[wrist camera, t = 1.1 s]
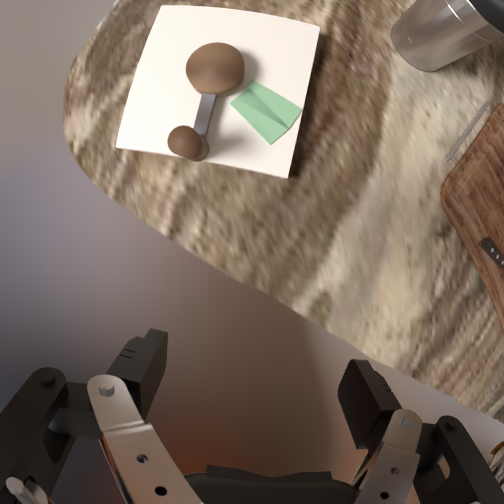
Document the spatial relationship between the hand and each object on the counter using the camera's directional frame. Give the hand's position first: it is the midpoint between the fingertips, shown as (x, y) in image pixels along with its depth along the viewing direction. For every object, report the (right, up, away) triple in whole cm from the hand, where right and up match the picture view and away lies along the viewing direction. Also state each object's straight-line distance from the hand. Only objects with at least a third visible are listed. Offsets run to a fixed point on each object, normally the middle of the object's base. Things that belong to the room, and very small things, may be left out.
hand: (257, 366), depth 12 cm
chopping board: (+49, +9, +24) cm, 55 cm away
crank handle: (-5, +21, +16) cm, 27 cm away
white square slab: (-4, +25, +19) cm, 32 cm away
